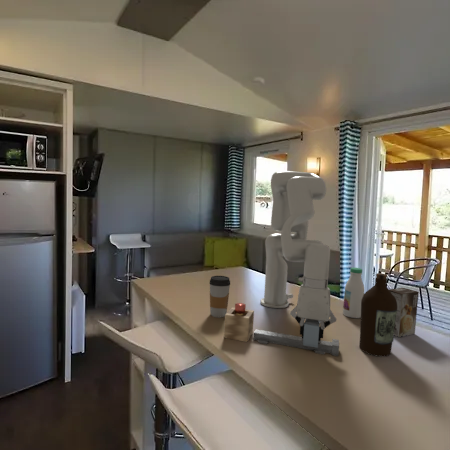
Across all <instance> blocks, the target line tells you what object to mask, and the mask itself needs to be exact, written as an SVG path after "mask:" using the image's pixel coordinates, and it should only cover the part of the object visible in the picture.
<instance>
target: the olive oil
mask: <svg viewBox="0 0 450 450" xmlns="http://www.w3.org/2000/svg"><path fill="white" fill-rule="evenodd" d="M374 283H375V284H374V285H373V286H372V287H371V288H369V289H368V290H367V291H365V292H364V295H363V297H362V300H361V318H360V323H359V324H360V327H359V328H360V330H359V349H360V350H361V351H363V352H364V353H366V354H368V353H369V354H368V355H371V354H372V355H371V356H375V355H377V356H376V357H388V356H390V355H391V354H392V346H393V342H394V339H395V336H394V335H393V333H394V327H395V320H396V314H397V301H396V298H395V297H394V295H393V294H392V293H391V292H390V291H389V288H388V286H387V283H388V275H387V274H386V273H380V272H379V273H378V272H377V273H375V279H374ZM387 355H388V356H387Z"/></svg>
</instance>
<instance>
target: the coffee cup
mask: <svg viewBox="0 0 450 450" xmlns="http://www.w3.org/2000/svg"><path fill="white" fill-rule="evenodd" d="M230 285H231V280H230V277H229V276H226V275H213V276H211V277H210V279H209V307H210V312H209V313H210V315H211V317H213V318H225V314H226V313H227V312H228V306H229V295H230V288H231V287H230Z"/></svg>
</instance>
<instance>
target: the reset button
mask: <svg viewBox="0 0 450 450" xmlns="http://www.w3.org/2000/svg"><path fill="white" fill-rule="evenodd" d="M234 308H235V312H236V313H237V315H241V316H243V313H245V309H246V308H247V307H246V304H245V302H244V303H242V302H236V303H234Z"/></svg>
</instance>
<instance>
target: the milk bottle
mask: <svg viewBox="0 0 450 450" xmlns="http://www.w3.org/2000/svg"><path fill="white" fill-rule="evenodd" d="M349 271H350V272H349V273H350V275H349V278H348V280H346V283H345V286H344V297H343V307H342V308H343V309H342V313H343V315H344V316H346V317H347V318H351V319H361V300H362V297H363V295H364V294H365V285H364V282H363V278H362V275H363V269H362V268H360V267H351V268H350V269H349Z"/></svg>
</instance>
